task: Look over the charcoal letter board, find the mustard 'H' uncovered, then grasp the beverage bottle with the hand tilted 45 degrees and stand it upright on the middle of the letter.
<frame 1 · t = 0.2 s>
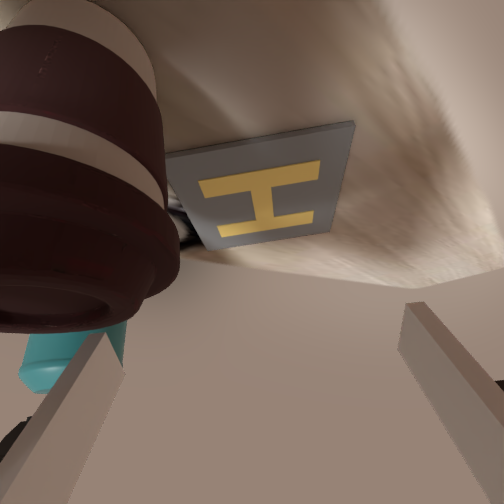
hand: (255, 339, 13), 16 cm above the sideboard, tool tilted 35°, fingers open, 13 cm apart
coffee cup: (92, 65, 17), on the sideboard, touching gripper
letter board: (262, 199, 30), on the sideboard
beverage bottle: (104, 197, 27), on the sideboard
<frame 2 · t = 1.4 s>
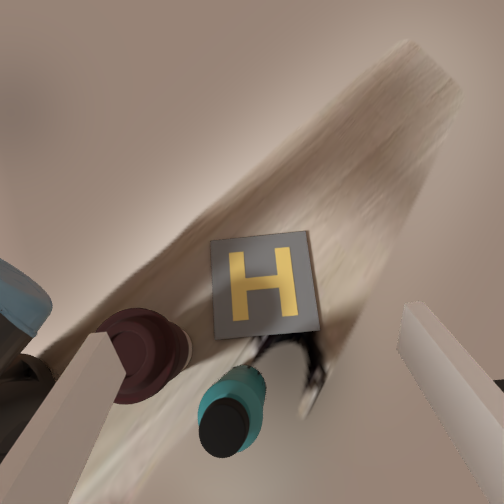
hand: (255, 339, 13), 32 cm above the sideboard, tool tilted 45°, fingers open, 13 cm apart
coffee cup: (170, 350, 44), on the sideboard
letter board: (262, 283, 46), on the sideboard
beverage bottle: (244, 386, 42), on the sideboard
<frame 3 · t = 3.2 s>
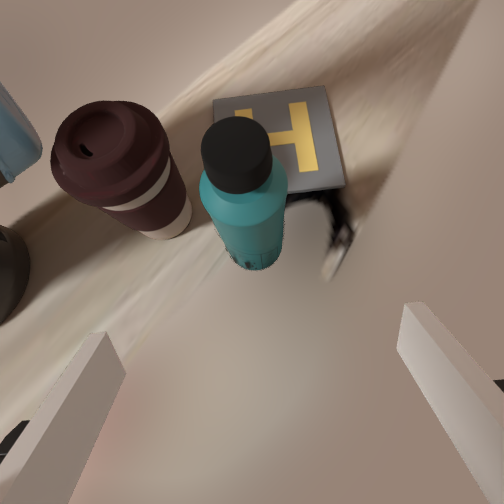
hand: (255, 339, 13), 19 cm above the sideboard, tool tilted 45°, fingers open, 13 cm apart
coffee cup: (166, 215, 37), on the sideboard
letter board: (274, 142, 39), on the sideboard
beverage bottle: (255, 250, 34), on the sideboard
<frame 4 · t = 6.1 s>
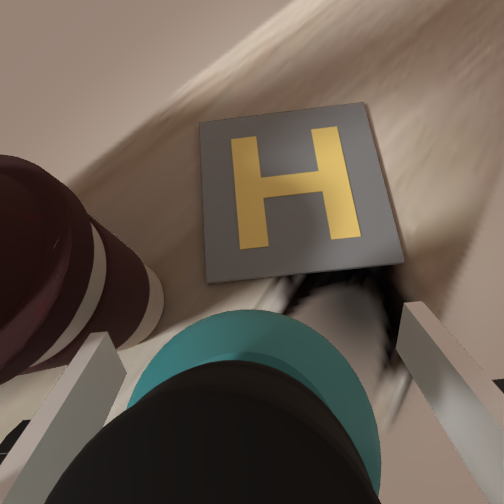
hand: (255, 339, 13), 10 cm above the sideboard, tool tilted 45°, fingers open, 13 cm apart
coffee cup: (124, 304, 24), on the sideboard, touching gripper
letter board: (290, 188, 26), on the sideboard
beverage bottle: (264, 369, 22), on the sideboard
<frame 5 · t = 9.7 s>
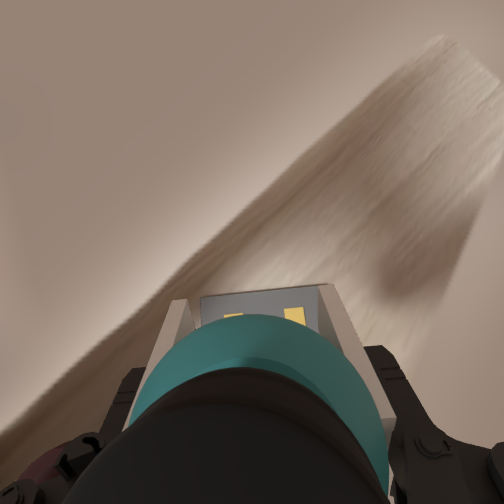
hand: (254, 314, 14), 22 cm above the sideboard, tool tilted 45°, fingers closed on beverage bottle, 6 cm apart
coffee cup: (146, 451, 33), on the sideboard
letter board: (268, 356, 35), on the sideboard
beverage bottle: (266, 371, 22), point 14 cm above the sideboard, touching gripper
when the fingers open (10 cm above the sideboard, at t = 12.8 s): beverage bottle stays where it is, resting on letter board.
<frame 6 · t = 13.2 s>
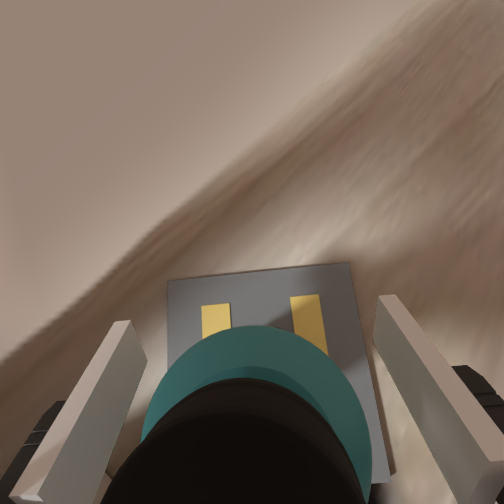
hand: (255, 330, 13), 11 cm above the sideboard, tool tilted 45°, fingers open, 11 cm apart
letter board: (266, 368, 23), on the sideboard
beverage bottle: (265, 370, 22), point 1 cm above the sideboard, touching letter board
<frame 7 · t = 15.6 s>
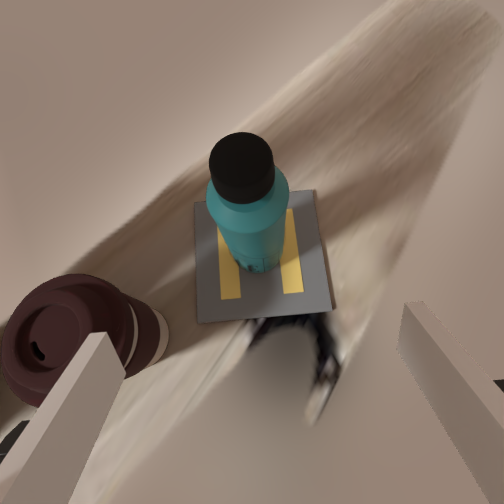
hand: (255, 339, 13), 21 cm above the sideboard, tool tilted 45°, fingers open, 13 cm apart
coffee cup: (141, 337, 34), on the sideboard
letter board: (258, 253, 36), on the sideboard
beverage bottle: (257, 253, 36), point 1 cm above the sideboard, touching letter board
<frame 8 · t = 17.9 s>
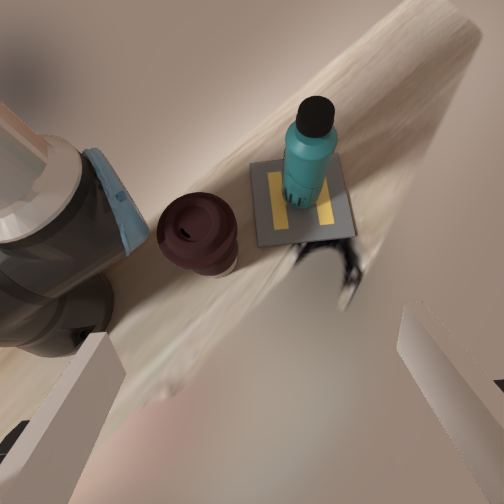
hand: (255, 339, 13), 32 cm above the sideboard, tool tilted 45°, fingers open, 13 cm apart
coffee cup: (216, 257, 48), on the sideboard
letter board: (299, 199, 49), on the sideboard
beverage bottle: (299, 198, 49), point 1 cm above the sideboard, touching letter board
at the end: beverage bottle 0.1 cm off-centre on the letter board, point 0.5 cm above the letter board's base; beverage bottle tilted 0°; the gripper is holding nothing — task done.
